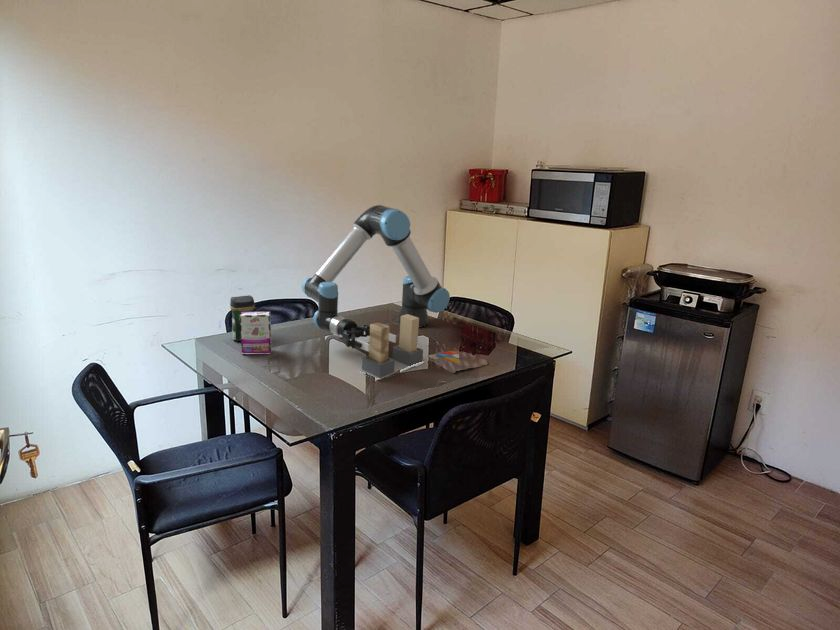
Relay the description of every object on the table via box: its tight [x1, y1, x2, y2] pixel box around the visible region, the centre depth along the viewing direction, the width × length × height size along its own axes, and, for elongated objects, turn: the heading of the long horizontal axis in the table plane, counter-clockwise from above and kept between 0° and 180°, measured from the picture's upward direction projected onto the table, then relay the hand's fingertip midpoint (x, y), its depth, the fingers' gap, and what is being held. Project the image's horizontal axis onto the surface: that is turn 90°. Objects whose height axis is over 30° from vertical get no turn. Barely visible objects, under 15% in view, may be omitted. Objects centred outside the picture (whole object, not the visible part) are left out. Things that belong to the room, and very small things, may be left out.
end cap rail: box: [359, 314, 424, 378], centre depth 210 cm, size 25×10×19 cm, turn 138°
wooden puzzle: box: [427, 350, 460, 363], centre depth 222 cm, size 18×19×4 cm
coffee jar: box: [229, 294, 256, 342], centre depth 229 cm, size 10×8×19 cm
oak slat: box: [368, 321, 390, 364], centre depth 204 cm, size 4×6×18 cm, turn 48°
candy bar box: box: [240, 311, 272, 354], centre depth 216 cm, size 11×5×16 cm, turn 102°
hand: (382, 343), depth 202 cm, fingers open, 13 cm apart
